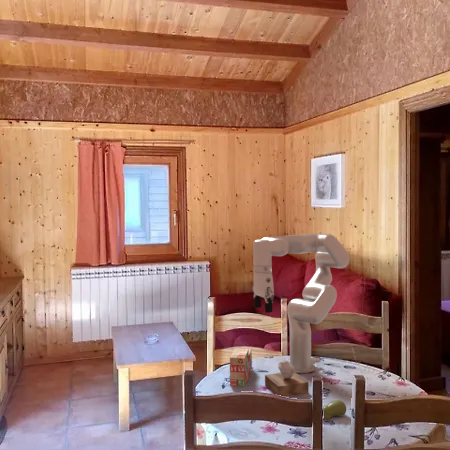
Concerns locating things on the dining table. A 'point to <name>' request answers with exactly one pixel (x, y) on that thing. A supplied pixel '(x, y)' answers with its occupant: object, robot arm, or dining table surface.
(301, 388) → the walnut block
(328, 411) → the pear
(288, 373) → the frog figurine
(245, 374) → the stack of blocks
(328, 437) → the dining table surface
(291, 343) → the robot arm
